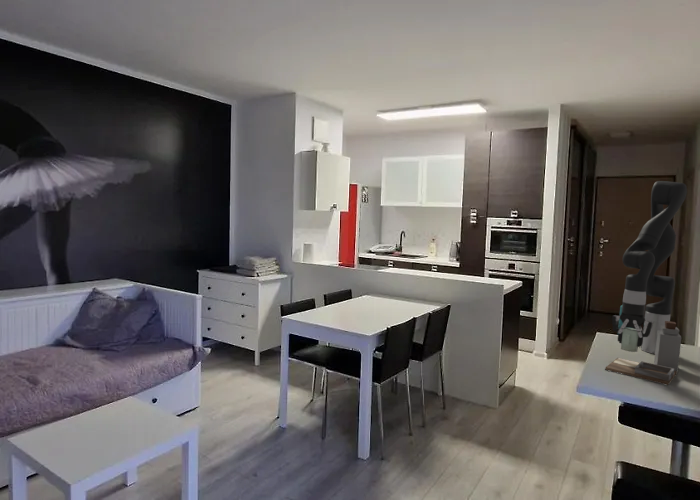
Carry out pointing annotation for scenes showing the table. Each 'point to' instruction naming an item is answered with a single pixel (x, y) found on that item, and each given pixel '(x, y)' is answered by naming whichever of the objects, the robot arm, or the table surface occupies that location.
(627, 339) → the pale green rounded piece
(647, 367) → the wooden panel with label
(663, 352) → the perfume bottle
